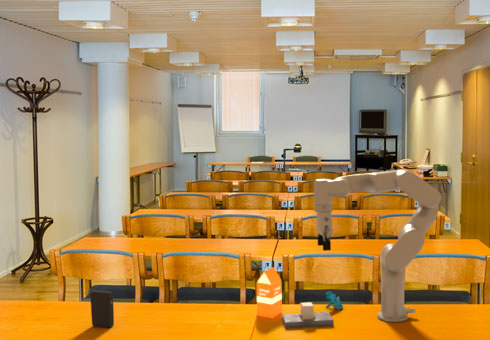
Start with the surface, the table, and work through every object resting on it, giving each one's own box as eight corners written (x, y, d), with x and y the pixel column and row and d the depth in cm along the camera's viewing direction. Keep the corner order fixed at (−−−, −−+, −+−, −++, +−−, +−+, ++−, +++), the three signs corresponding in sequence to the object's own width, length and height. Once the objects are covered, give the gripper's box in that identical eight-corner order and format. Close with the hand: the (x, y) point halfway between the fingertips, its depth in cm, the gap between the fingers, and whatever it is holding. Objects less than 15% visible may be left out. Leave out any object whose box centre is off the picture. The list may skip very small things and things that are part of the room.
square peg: (311, 320, 254) (311, 302, 253) (313, 324, 250) (313, 305, 249) (300, 321, 254) (300, 302, 253) (303, 325, 249) (302, 306, 248)
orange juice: (282, 312, 266) (281, 267, 264) (272, 318, 258) (271, 272, 256) (266, 309, 270) (266, 265, 268) (256, 315, 263) (255, 270, 261)
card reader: (115, 325, 253) (114, 290, 251) (110, 328, 249) (108, 293, 248) (96, 323, 256) (95, 289, 254) (91, 326, 252) (89, 291, 251)
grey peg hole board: (328, 317, 257) (327, 311, 257) (333, 325, 248) (333, 319, 247) (281, 320, 256) (281, 314, 255) (285, 328, 246) (285, 322, 245)
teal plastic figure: (339, 309, 262) (324, 291, 266) (329, 318, 264) (315, 299, 268) (347, 306, 272) (333, 288, 276) (338, 313, 274) (324, 296, 278)
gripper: (337, 210, 247) (337, 251, 248) (327, 204, 264) (327, 243, 265) (319, 211, 246) (320, 252, 247) (310, 205, 263) (311, 243, 265)
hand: (324, 247), depth 256 cm, fingers open, 9 cm apart
